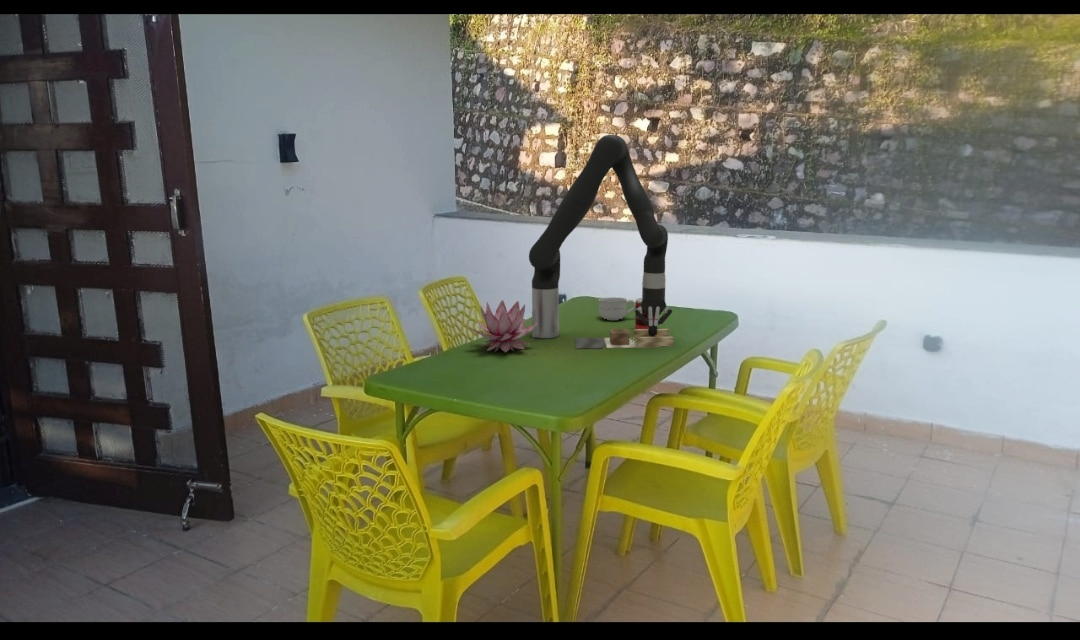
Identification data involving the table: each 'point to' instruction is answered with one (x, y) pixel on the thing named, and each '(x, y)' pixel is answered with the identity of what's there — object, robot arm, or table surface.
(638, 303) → the canned food
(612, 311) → the teacup
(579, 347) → the corridor track
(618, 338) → the walnut block
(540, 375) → the table surface
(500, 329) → the decorative flower
